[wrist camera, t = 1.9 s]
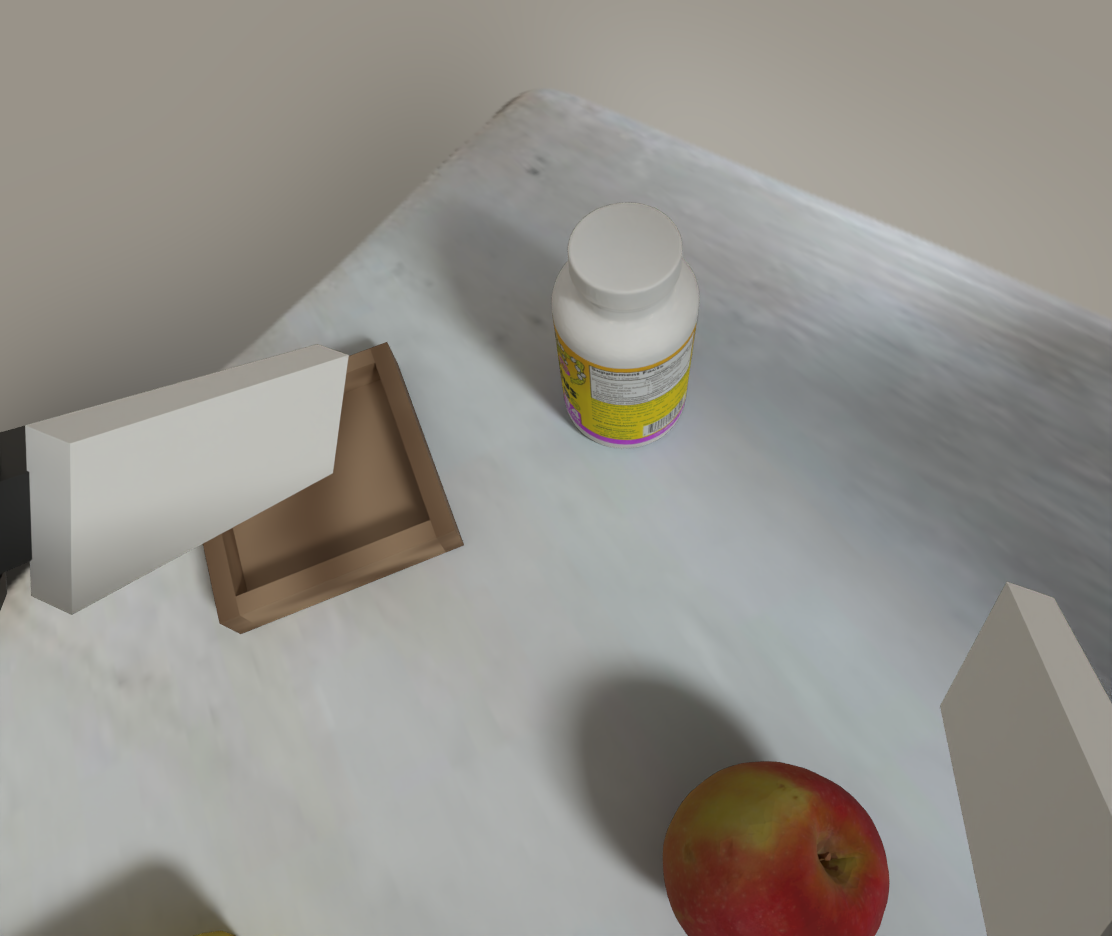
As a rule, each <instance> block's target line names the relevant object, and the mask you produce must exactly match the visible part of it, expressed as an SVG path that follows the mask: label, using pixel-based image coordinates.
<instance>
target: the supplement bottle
mask: <svg viewBox="0 0 1112 936" xmlns="http://www.w3.org/2000/svg"><path fill="white" fill-rule="evenodd" d="M699 301H700V296H699V288H698V284H697V281H696V278H695V275H694V273H693V271H692V270H691V268H690V266H689V265H688V263H687V262H686V261H685V260H684V259H683V258H682V240H681V236H680V233H679V231H678V229H677V227H676V225H675V224H674V223H673V221H672V220H671V219H670V218H669V217H668V216H666V215H665V214H664V213H662V212H661V211H659V210H658V209H656V208H653V207H651V206H648V205H644V204H640V203H629V202H628V203H616V204H611V205H607V206H604V207H601V208H598V209H596V210H594V211H593V212H591V213H589V214H588V215H587V216H585V217H584V218H583V219H582V220H581V221H580V222H579V223H578V224H577V225H576V227H575V228H574V230H573V232H572V233H571V236H570V239H569V243H568V261H567V262H566V264H565V265H564V266H563V268H562V269H561V271H560V273H559V274H558V277H557V279H556V281H555V284H554V287H553V292H552V316H553V323H554V329H555V337H556V343H557V351H558V359H559V365H560V373H561V380H562V386H563V393H564V399H565V404H566V408H567V411H568V414H569V416H570V418H571V419H572V421H573V423H574V424H575V425H576V427H577V428H578V429H579V430H580V431H581V432H582V433H583V434H584V435H586V436H587V437H588V438H590V439H592V440H593V441H595V442H597V443H599V444H602V445H605V446H608V447H613V448H635V447H640V446H644V445H647V444H650V443H652V442H654V441H656V440H658V439H660V438H661V437H662V436H664V435H665V434H666V433H667V432H669V431H670V430H671V429H672V427H673V426H674V425H675V424H676V422H677V421H678V419H679V418H680V416H681V413H682V411H683V408H684V404H685V400H686V393H687V385H688V379H689V371H690V365H691V358H692V351H693V344H694V337H695V330H696V324H697V318H698V311H699Z"/></svg>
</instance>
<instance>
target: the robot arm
mask: <svg viewBox="0 0 1112 936" xmlns="http://www.w3.org/2000/svg"><path fill="white" fill-rule="evenodd" d="M348 356H349V355H347V354H344V353H341V352H338V351H335V350H333V349H330V348H327V347H324V346H321V345H318V344H316V345H313V346H309V347H305V348H302V349H298V350H295V351H291V352H287V353H284V354H280V355H277V356H273V357H269V358H266V359H262V360H259V361H255V362H251V363H248V364H244V365H241V366H237V367H233V368H230V369H226V370H223V371H219V372H215V373H212V374H208V375H205V376H201V377H197V378H194V379H190V380H187V381H183V382H180V383H176V384H172V385H169V386H165V387H161V388H158V389H154V390H151V391H147V392H144V393H140V394H136V395H133V396H129V397H125V398H122V399H118V400H115V401H111V402H107V403H104V404H100V405H97V406H93V407H89V408H86V409H82V410H79V411H75V412H72V413H68V414H64V415H61V416H57V417H53V418H50V419H46V420H43V421H39V422H35V423H32V424H28V425H25V426H22V427H18V428H15V429H11V430H8V431H4V432H0V610H1V608H2V605H3V602H4V600H5V597H6V595H7V583H6V571H8V570H11V569H13V568H15V567H17V566H20V565H22V564H24V563H26V562H29V561H30V577H31V596H33V597H35V598H37V599H39V600H41V601H43V602H46V603H48V604H50V605H52V606H54V607H56V608H58V609H61V610H63V611H65V612H67V613H69V614H71V615H72V614H74V613H76V612H78V611H80V610H82V609H84V608H85V607H87V606H89V605H91V604H93V603H95V602H96V601H98V600H100V599H102V598H104V597H106V596H107V595H109V594H111V593H113V592H115V591H117V590H119V589H120V588H122V587H124V586H126V585H128V584H130V583H131V582H133V581H135V580H137V579H139V578H141V577H142V576H144V575H146V574H148V573H150V572H152V571H154V570H155V569H157V568H159V567H161V566H163V565H165V564H166V563H168V562H170V561H172V560H174V559H176V558H177V557H179V556H181V555H183V554H185V553H187V552H189V551H190V550H192V549H194V548H196V547H198V546H200V545H201V544H203V543H205V542H207V541H209V540H211V539H213V538H214V537H216V536H218V535H220V534H222V533H224V532H225V531H227V530H229V529H231V528H233V527H235V526H236V525H238V524H240V523H242V522H244V521H246V520H248V519H249V518H251V517H253V516H255V515H257V514H259V513H260V512H262V511H264V510H266V509H268V508H270V507H271V506H273V505H275V504H277V503H279V502H281V501H283V500H284V499H286V498H288V497H290V496H292V495H294V494H295V493H297V492H299V491H301V490H303V489H305V488H306V487H308V486H310V485H312V484H314V483H316V482H318V481H319V480H321V479H323V478H325V477H327V476H329V475H330V474H332V473H333V468H334V461H335V453H336V446H337V438H338V431H339V423H340V416H341V408H342V401H343V394H344V386H345V379H346V371H347V364H348ZM940 708H941V713H942V718H943V723H944V728H945V732H946V737H947V742H948V747H949V752H950V757H951V762H952V766H953V771H954V776H955V781H956V786H957V791H958V796H959V800H960V805H961V810H962V815H963V820H964V825H965V830H966V834H967V839H968V844H969V849H970V854H971V859H972V864H973V869H974V873H975V878H976V883H977V888H978V893H979V898H980V903H981V907H982V912H983V917H984V922H985V927H986V932H987V936H1112V703H1111V701H1110V699H1109V698H1108V696H1107V694H1106V692H1105V690H1104V688H1103V687H1102V685H1101V683H1100V681H1099V679H1098V677H1097V676H1096V674H1095V672H1094V670H1093V668H1092V666H1091V665H1090V663H1089V661H1088V659H1087V657H1086V656H1085V654H1084V652H1083V650H1082V648H1081V646H1080V645H1079V643H1078V641H1077V639H1076V637H1075V635H1074V634H1073V632H1072V630H1071V628H1070V626H1069V625H1068V623H1067V621H1066V619H1065V617H1064V615H1063V614H1062V612H1061V610H1060V608H1059V606H1058V604H1057V603H1056V601H1055V599H1054V598H1053V597H1050V596H1047V595H1044V594H1041V593H1039V592H1036V591H1033V590H1030V589H1027V588H1024V587H1021V586H1018V585H1015V584H1012V583H1010V582H1006V584H1005V586H1004V588H1003V590H1002V592H1001V593H1000V595H999V597H998V599H997V601H996V603H995V605H994V606H993V608H992V610H991V612H990V614H989V616H988V618H987V620H986V621H985V623H984V625H983V627H982V629H981V631H980V633H979V634H978V636H977V638H976V640H975V642H974V644H973V646H972V647H971V649H970V651H969V653H968V655H967V657H966V659H965V661H964V662H963V664H962V666H961V668H960V670H959V672H958V674H957V675H956V677H955V679H954V681H953V683H952V685H951V687H950V689H949V690H948V692H947V694H946V696H945V698H944V700H943V702H942V703H941V705H940Z"/></svg>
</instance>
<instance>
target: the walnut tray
mask: <svg viewBox="0 0 1112 936" xmlns="http://www.w3.org/2000/svg"><path fill="white" fill-rule="evenodd" d="M463 545H464V544H463V541H462V538H461V535H460V533H459V530H458V527H457V524H456V522H455V519H454V516H453V514H452V511H451V508H450V505H449V503H448V500H447V497H446V494H445V492H444V489H443V486H442V483H441V481H440V478H439V475H438V472H437V470H436V467H435V464H434V462H433V459H432V456H431V453H430V451H429V448H428V445H427V442H426V440H425V437H424V434H423V431H422V429H421V426H420V423H419V420H418V418H417V415H416V412H415V410H414V407H413V404H412V401H411V399H410V396H409V393H408V390H407V388H406V385H405V382H404V379H403V377H402V374H401V371H400V368H399V366H398V363H397V361H396V359H395V357H394V355H393V353H392V351H391V349H390V347H389V345H388V343H387V342H386V343H383V344H380V345H378V346H375V347H372V348H370V349H367V350H364V351H361V352H359V353H356V354H353V355H351V356H348V364H347V371H346V379H345V386H344V394H343V401H342V408H341V416H340V423H339V431H338V438H337V446H336V453H335V461H334V468H333V473H332V474H330V475H329V476H327V477H325V478H323V479H321V480H319V481H318V482H316V483H314V484H312V485H310V486H308V487H306V488H305V489H303V490H301V491H299V492H297V493H295V494H294V495H292V496H290V497H288V498H286V499H284V500H283V501H281V502H279V503H277V504H275V505H273V506H271V507H270V508H268V509H266V510H264V511H262V512H260V513H259V514H257V515H255V516H253V517H251V518H249V519H248V520H246V521H244V522H242V523H240V524H238V525H236V526H235V527H233V528H231V529H229V530H227V531H225V532H224V533H222V534H220V535H218V536H216V537H214V538H213V539H211V540H209V541H207V542H205V543H203V546H204V551H205V556H206V561H207V566H208V570H209V575H210V580H211V585H212V589H213V594H214V599H215V604H216V608H217V613H218V618H219V623H220V624H222V625H224V626H226V627H228V628H230V629H232V630H234V631H236V632H238V633H240V634H242V633H245V632H247V631H250V630H252V629H255V628H257V627H260V626H262V625H265V624H267V623H270V622H272V621H275V620H277V619H280V618H282V617H285V616H287V615H290V614H293V613H295V612H298V611H300V610H303V609H305V608H308V607H310V606H313V605H315V604H318V603H320V602H323V601H325V600H328V599H330V598H333V597H335V596H338V595H340V594H343V593H345V592H348V591H350V590H353V589H355V588H358V587H360V586H363V585H365V584H368V583H370V582H373V581H375V580H378V579H380V578H383V577H385V576H388V575H390V574H393V573H395V572H398V571H400V570H403V569H405V568H408V567H410V566H413V565H415V564H418V563H420V562H423V561H425V560H428V559H430V558H433V557H435V556H438V555H440V554H443V553H445V552H448V551H451V550H453V549H456V548H458V547H461V546H463Z"/></svg>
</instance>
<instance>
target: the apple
mask: <svg viewBox="0 0 1112 936" xmlns="http://www.w3.org/2000/svg"><path fill="white" fill-rule="evenodd" d="M663 872H664V881H665V886H666V890H667V895H668V898H669V901H670V904H671V907H672V910H673V912H674V914H675V917H676V918H677V920H678V922H679V924H680V925H681V926H682V928H683V929H684V931H685V932H686V934H687V935H688V936H875V934H876V933H877V931H878V929H879V927H880V924H881V921H882V918H883V914H884V911H885V908H886V904H887V900H888V893H889V871H888V865H887V859H886V854H885V850H884V847H883V843H882V841H881V838H880V836H879V833H878V831H877V829H876V827H875V825H874V823H873V821H872V819H871V818H870V816H869V815H868V813H867V812H866V810H865V809H864V808H863V807H862V806H861V805H860V804H859V803H858V802H857V800H856V799H855V798H854V797H853V796H851V795H850V794H849V793H848V792H847V791H846V790H844V789H843V788H842V787H840V786H839V785H837V784H836V783H834V782H832V781H830V780H829V779H827V778H824V777H822V776H820V775H818V774H816V773H814V772H812V771H810V770H807V769H805V768H802V767H798V766H794V765H790V764H786V763H781V762H770V761H763V762H749V763H741V764H737V765H734V766H731V767H728V768H725V769H723V770H720V771H718V772H716V773H715V774H713V775H712V776H710V777H709V778H707V779H706V780H705V781H703V782H702V783H701V784H700V785H698V786H697V787H696V788H695V789H693V790H692V791H691V792H690V793H689V794H688V796H687V797H686V798H685V799H684V801H683V802H682V803H681V805H680V806H679V808H678V810H677V811H676V813H675V815H674V817H673V819H672V821H671V823H670V825H669V828H668V830H667V833H666V836H665V840H664V845H663Z"/></svg>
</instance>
